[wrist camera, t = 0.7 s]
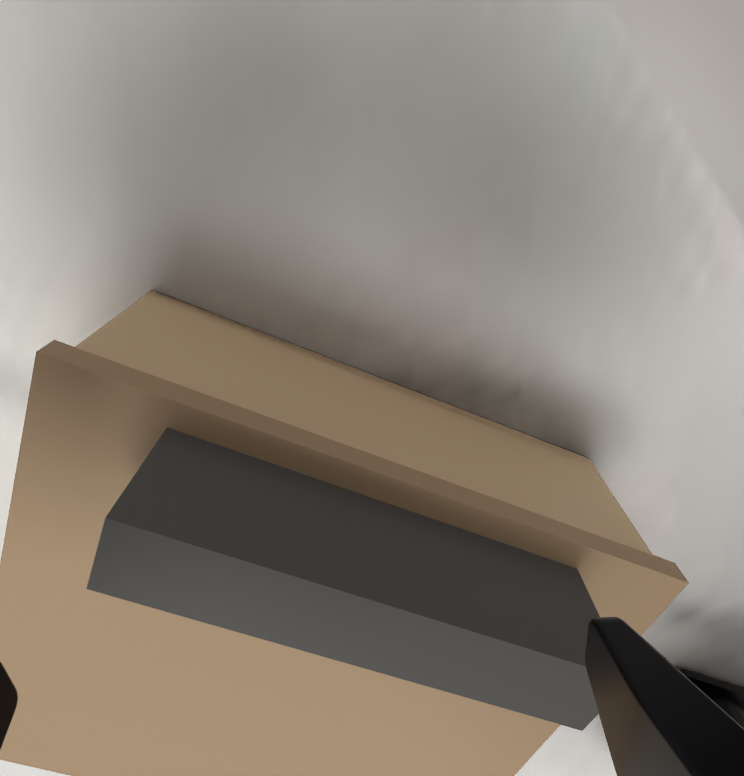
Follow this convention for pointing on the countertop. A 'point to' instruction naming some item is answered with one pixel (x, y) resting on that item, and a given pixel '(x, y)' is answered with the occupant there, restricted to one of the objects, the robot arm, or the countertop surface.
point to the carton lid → (280, 597)
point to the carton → (359, 411)
